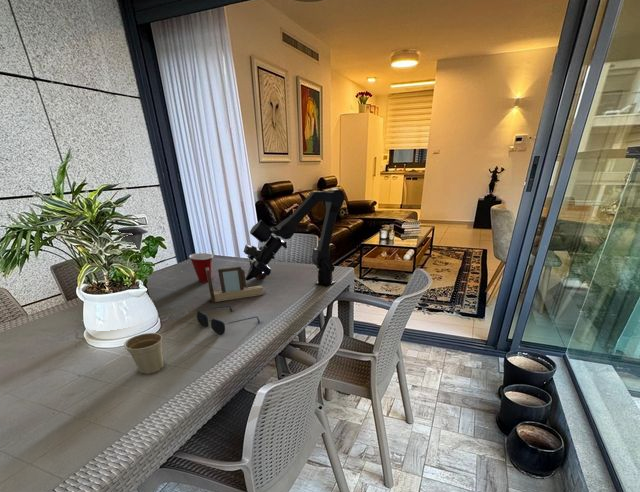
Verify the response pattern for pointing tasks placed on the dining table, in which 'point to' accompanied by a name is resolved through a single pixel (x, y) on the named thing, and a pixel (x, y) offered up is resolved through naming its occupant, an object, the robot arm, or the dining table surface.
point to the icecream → (261, 276)
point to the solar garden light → (133, 237)
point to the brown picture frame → (232, 279)
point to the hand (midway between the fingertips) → (246, 279)
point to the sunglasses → (215, 321)
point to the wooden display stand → (234, 294)
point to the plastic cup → (202, 265)
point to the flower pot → (146, 352)
